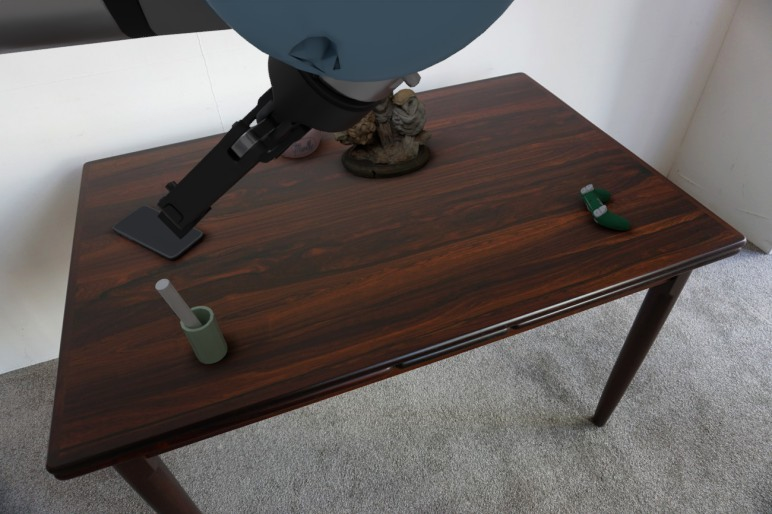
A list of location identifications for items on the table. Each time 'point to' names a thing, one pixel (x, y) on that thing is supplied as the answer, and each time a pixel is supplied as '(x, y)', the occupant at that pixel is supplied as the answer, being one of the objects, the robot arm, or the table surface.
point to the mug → (304, 145)
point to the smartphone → (155, 233)
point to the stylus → (177, 304)
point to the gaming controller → (602, 208)
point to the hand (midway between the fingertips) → (224, 183)
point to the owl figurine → (388, 138)
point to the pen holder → (206, 336)
